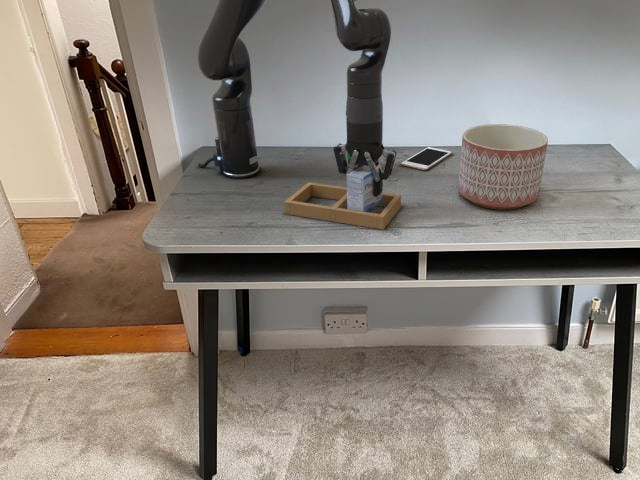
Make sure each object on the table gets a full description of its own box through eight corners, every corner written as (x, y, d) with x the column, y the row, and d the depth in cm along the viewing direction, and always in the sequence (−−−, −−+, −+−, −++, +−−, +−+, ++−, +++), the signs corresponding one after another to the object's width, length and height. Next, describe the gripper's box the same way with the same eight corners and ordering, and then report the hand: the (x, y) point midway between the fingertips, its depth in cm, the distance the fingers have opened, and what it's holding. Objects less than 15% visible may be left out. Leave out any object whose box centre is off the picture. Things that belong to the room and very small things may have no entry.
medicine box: (363, 215, 121) (363, 177, 116) (346, 210, 123) (346, 173, 118) (382, 202, 126) (383, 166, 122) (366, 198, 128) (366, 162, 124)
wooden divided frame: (285, 213, 125) (284, 201, 124) (309, 193, 135) (308, 181, 134) (383, 229, 119) (383, 217, 117) (401, 207, 129) (401, 195, 127)
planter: (514, 178, 144) (522, 121, 136) (553, 207, 129) (564, 145, 121) (446, 185, 140) (450, 127, 132) (477, 217, 124) (484, 153, 116)
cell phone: (400, 165, 151) (400, 163, 151) (428, 148, 163) (428, 146, 163) (425, 170, 148) (426, 168, 148) (452, 153, 160) (452, 151, 159)
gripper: (403, 115, 115) (400, 192, 124) (339, 108, 119) (341, 183, 128) (391, 125, 109) (389, 205, 118) (325, 117, 113) (328, 195, 122)
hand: (364, 193), depth 123 cm, fingers closed on medicine box, 5 cm apart
